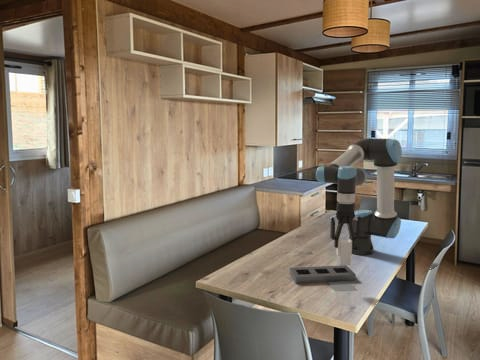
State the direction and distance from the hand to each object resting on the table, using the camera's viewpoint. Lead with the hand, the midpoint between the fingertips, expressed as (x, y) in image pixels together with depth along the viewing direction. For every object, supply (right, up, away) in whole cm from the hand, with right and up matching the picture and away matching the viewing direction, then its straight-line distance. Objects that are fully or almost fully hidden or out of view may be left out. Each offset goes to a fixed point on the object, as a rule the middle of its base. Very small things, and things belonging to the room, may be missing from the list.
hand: (343, 254), depth 181 cm
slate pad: (0, -16, +2) cm, 16 cm away
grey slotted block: (-7, -14, +13) cm, 20 cm away
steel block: (0, -4, +1) cm, 4 cm away
